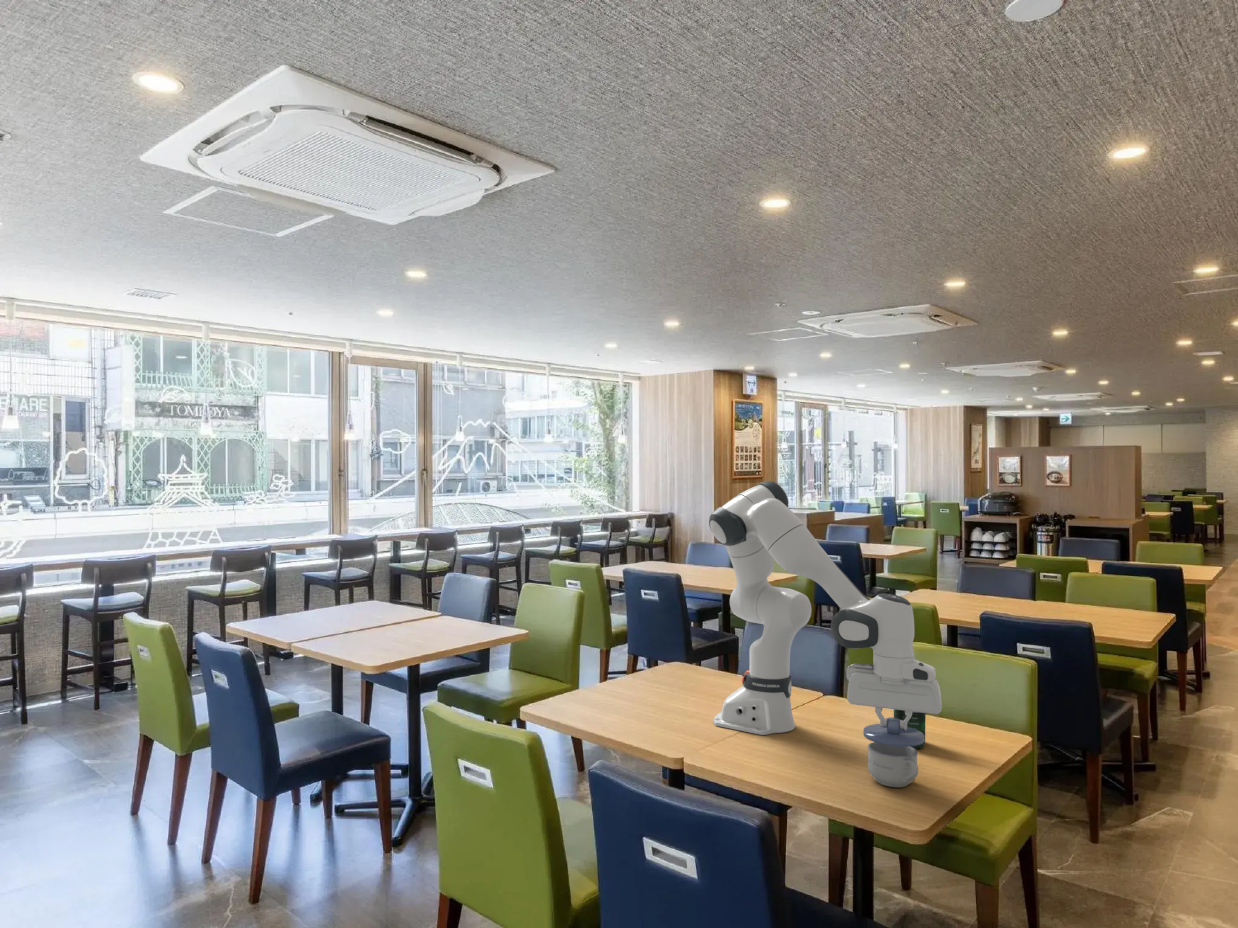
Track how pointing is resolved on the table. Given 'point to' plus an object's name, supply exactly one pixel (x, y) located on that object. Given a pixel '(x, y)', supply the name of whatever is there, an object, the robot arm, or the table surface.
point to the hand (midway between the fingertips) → (893, 728)
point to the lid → (893, 734)
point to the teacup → (892, 764)
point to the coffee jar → (913, 722)
